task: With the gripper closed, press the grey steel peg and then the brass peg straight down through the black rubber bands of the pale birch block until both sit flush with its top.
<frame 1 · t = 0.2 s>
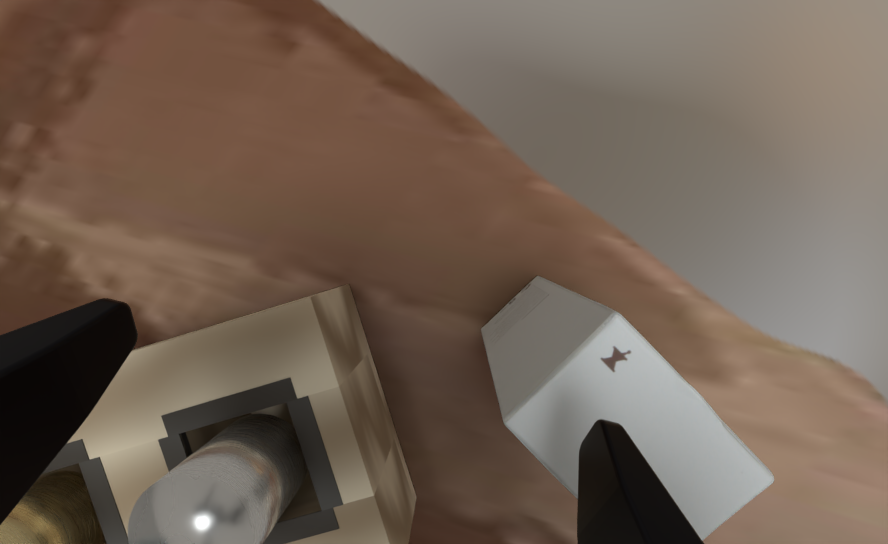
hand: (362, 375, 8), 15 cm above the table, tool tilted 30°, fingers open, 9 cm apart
collar block: (225, 437, 24), on the table
skincare box 2: (546, 343, 23), on the table
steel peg: (231, 492, 16), point 7 cm above the table, slide at 4.0 cm
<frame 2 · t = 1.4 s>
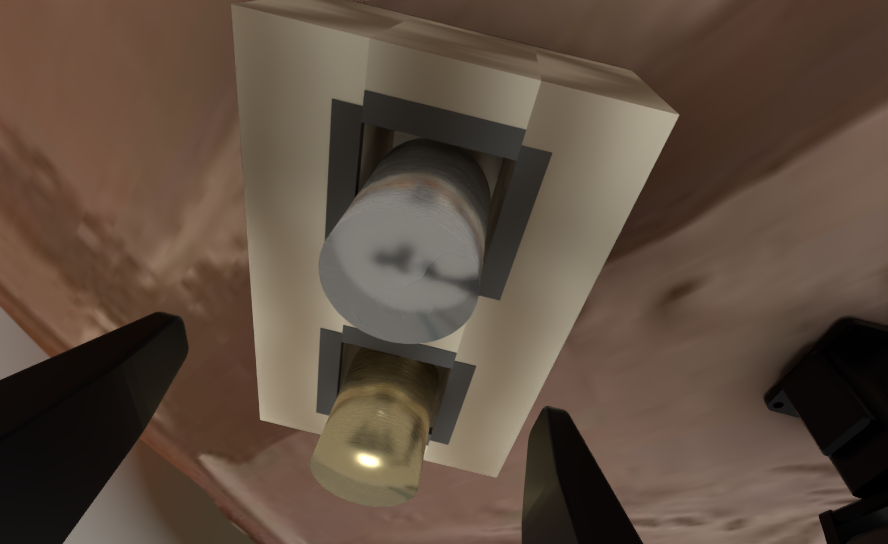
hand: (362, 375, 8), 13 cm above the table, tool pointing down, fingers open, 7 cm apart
collar block: (430, 235, 22), on the table
brass peg: (381, 419, 18), point 7 cm above the table, slide at 4.0 cm
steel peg: (416, 233, 13), point 7 cm above the table, slide at 4.0 cm
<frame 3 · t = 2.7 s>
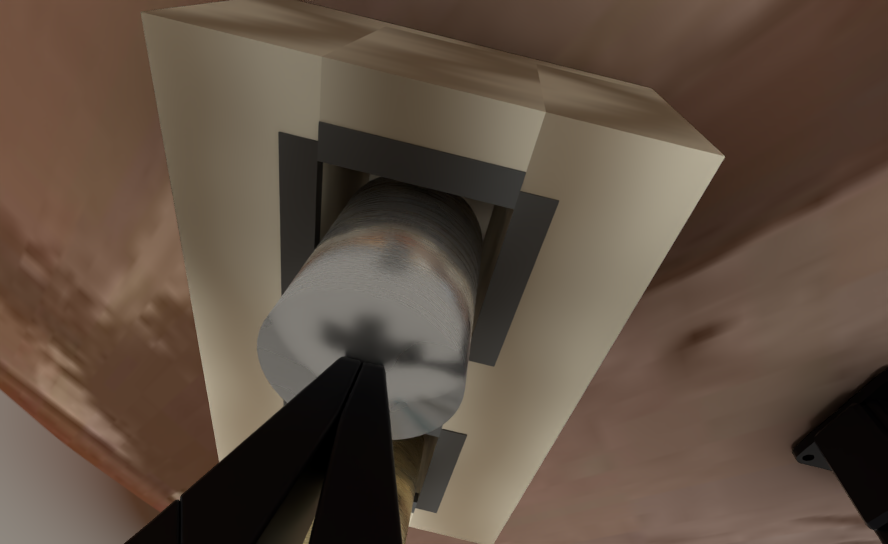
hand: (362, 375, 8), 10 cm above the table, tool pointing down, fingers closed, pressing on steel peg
collar block: (416, 271, 19), on the table
brass peg: (355, 495, 15), point 7 cm above the table, slide at 4.0 cm
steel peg: (390, 294, 10), point 7 cm above the table, slide at 3.8 cm, touching gripper
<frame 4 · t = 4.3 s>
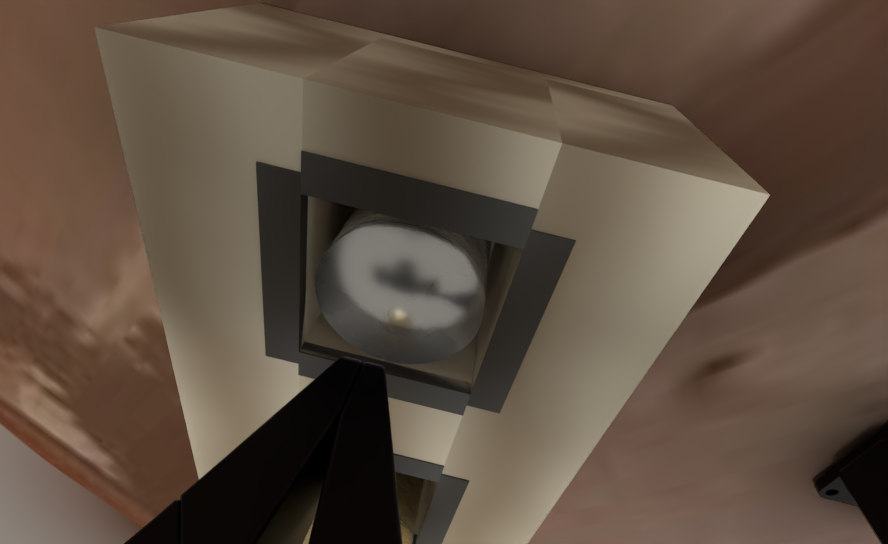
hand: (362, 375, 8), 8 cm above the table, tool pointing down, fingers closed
collar block: (415, 296, 18), on the table
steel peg: (418, 247, 12), point 3 cm above the table, slide at -0.1 cm
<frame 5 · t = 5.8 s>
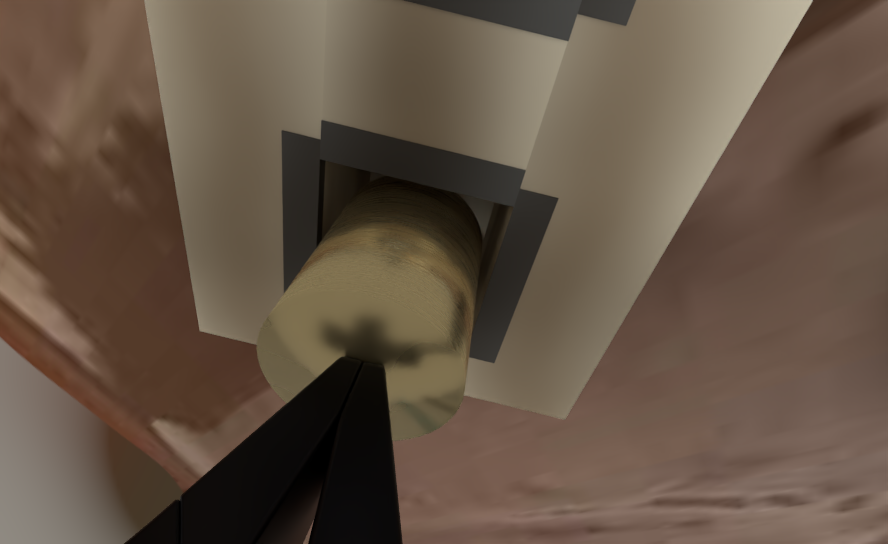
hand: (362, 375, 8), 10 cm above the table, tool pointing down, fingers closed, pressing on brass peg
collar block: (463, 41, 14), on the table
brass peg: (390, 295, 10), point 7 cm above the table, slide at 3.9 cm, touching gripper
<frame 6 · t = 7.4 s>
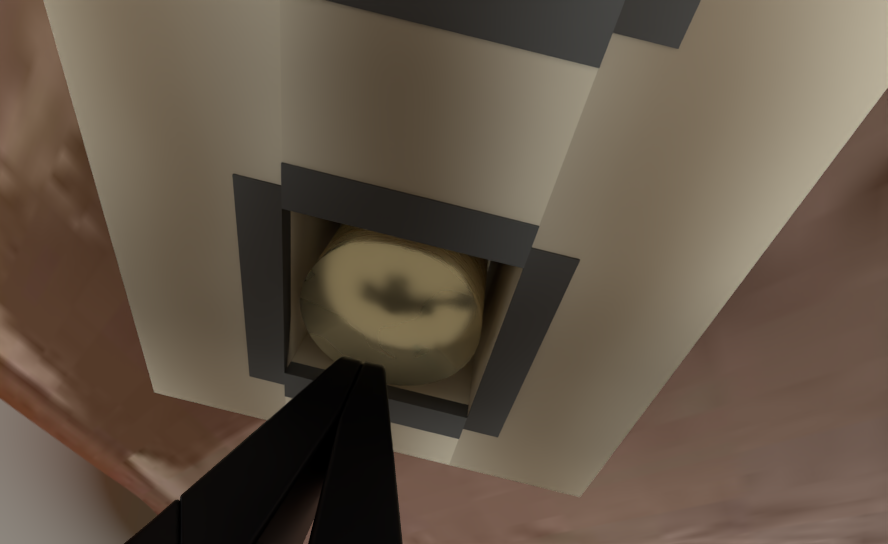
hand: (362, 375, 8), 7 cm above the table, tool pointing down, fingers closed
collar block: (462, 55, 12), on the table
brass peg: (411, 260, 12), point 3 cm above the table, slide at -0.1 cm
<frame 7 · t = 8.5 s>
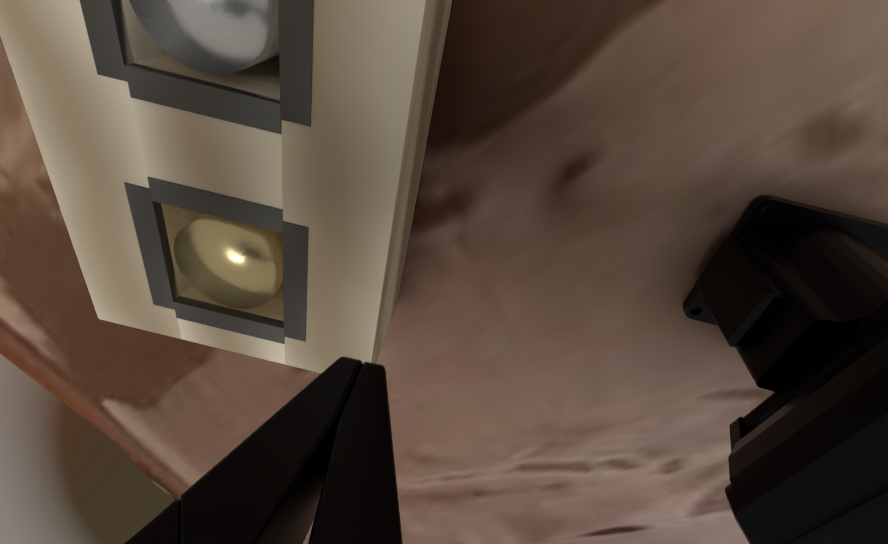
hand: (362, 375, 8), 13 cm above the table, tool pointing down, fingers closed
collar block: (290, 106, 19), on the table
brass peg: (257, 234, 19), point 3 cm above the table, slide at -0.1 cm
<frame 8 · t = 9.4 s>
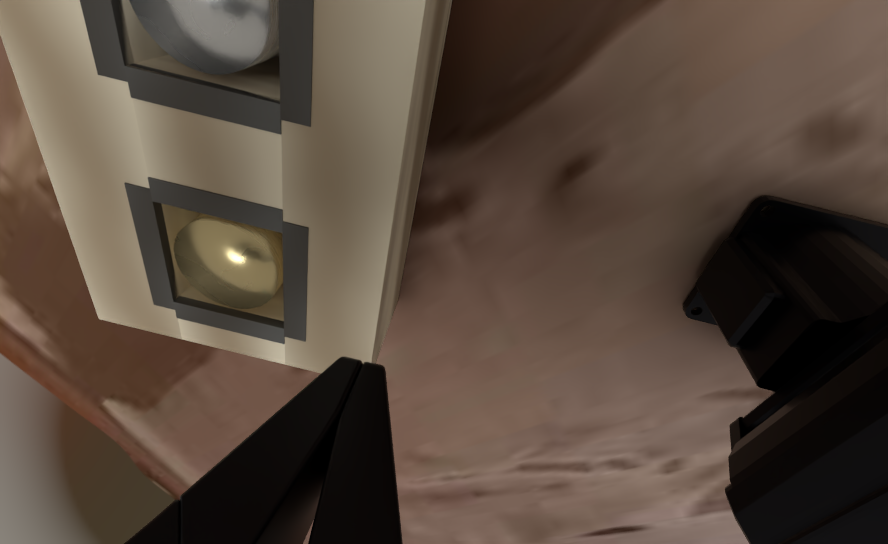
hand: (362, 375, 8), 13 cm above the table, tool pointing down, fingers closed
collar block: (290, 107, 19), on the table
brass peg: (257, 234, 19), point 3 cm above the table, slide at -0.1 cm
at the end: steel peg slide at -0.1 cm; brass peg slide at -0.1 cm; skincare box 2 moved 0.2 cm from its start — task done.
